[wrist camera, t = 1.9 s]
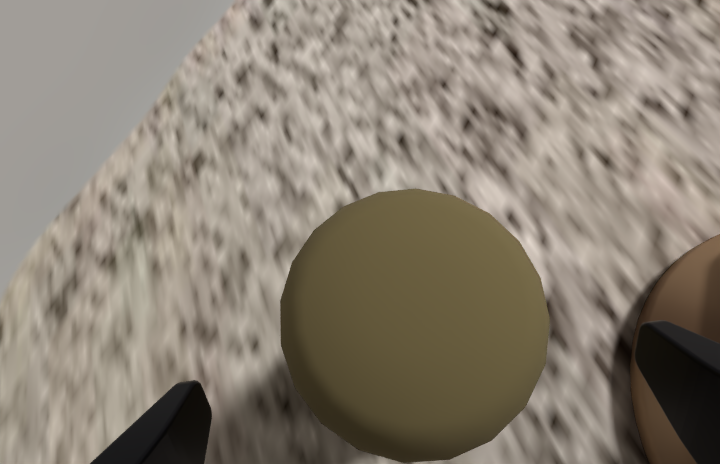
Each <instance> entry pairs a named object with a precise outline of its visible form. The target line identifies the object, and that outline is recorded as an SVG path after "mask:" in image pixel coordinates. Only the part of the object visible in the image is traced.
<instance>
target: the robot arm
mask: <svg viewBox="0 0 720 464" xmlns="http://www.w3.org/2000/svg"><path fill="white" fill-rule="evenodd" d="M635 361H636V364H637V366H638V368H639V370H640V372H641V373H642V375H643V377H644V379H645V380H646V382H647V384H648V386H649V387H650V389H651V391H652V393H653V394H654V396H655V398H656V400H657V401H658V403H659V405H660V406H661V408H662V410H663V412H664V413H665V415H666V417H667V419H668V420H669V422H670V424H671V426H672V427H673V429H674V430H675V432H676V434H677V435H678V437H679V439H680V440H681V442H682V443H683V444H684V446H685V447H686V449H687V450H688V452H689V453H690V455H691V456H692V457H693V459H694V460H695V462H696V463H697V464H720V343H718V342H715V341H713V340H711V339H708V338H706V337H704V336H701V335H699V334H697V333H694V332H692V331H690V330H687V329H685V328H683V327H680V326H678V325H676V324H673V323H671V322H668V321H665V320H658V321H650V322H644V323H642V324H641V326H640V328H639V332H638V337H637V343H636V348H635ZM211 419H212V412H211V407H210V405H209V402H208V400H207V398H206V395H205V393H204V390H203V388H202V386H201V384H200V383H199V382H198V381H195V380H193V381H186V382H180V383H177V384H176V385H174V386H173V387H172V388H171V389H170V390H169V391H168V392H167V393H166V394H165V395H164V396H163V397H161V398H160V399H159V400H158V401H157V402H156V403H155V404H154V405H153V406H152V407H151V408H150V409H148V410H147V411H146V412H145V413H144V414H143V415H142V416H141V417H140V418H139V419H138V420H137V421H136V422H134V423H133V424H132V425H131V426H130V427H129V428H128V429H127V430H126V431H125V432H124V433H123V434H121V435H120V436H119V437H118V438H117V439H116V440H115V441H114V442H113V443H112V444H111V445H110V446H109V447H107V448H106V449H105V450H104V451H103V452H102V453H101V454H100V455H99V456H98V457H97V458H96V459H94V460H93V461H92V462H91V463H90V464H204V461H205V455H206V449H207V443H208V437H209V431H210V425H211Z"/></svg>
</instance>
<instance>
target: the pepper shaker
mask: <svg viewBox="0 0 720 464" xmlns="http://www.w3.org/2000/svg"><path fill="white" fill-rule="evenodd" d="M280 303H281V347H282V350H283V353H284V356H285V359H286V362H287V365H288V368H289V371H290V374H291V377H292V380H293V383H294V386H295V388H296V390H297V391H298V392H299V394H300V395H301V396H302V398H303V399H304V401H305V402H306V403H307V405H308V406H309V407H310V409H311V410H312V411H313V413H314V414H315V416H316V417H317V418H318V420H319V421H320V422H321V424H323V425H324V426H326V427H327V428H328V429H330V430H331V431H333V432H334V433H336V434H337V435H338V436H340V437H341V438H343V439H344V440H345V441H347V442H348V443H350V444H351V445H352V446H354V447H355V448H357V449H358V450H361V451H364V452H368V453H371V454H375V455H378V456H382V457H385V458H389V459H392V460H396V461H399V462H403V463H406V462H421V461H436V460H450V459H452V458H454V457H456V456H459V455H461V454H463V453H465V452H467V451H470V450H472V449H474V448H476V447H478V446H481V445H483V444H485V443H487V442H490V441H492V440H493V439H494V438H495V437H496V436H497V435H498V434H499V433H500V432H501V431H502V430H503V429H504V428H505V427H506V426H507V425H508V424H509V423H510V422H511V421H512V420H513V419H514V418H515V417H516V416H517V415H518V414H519V413H520V412H521V411H522V410H523V409H524V408H525V406H526V405H527V403H528V400H529V398H530V396H531V394H532V392H533V390H534V388H535V385H536V383H537V381H538V379H539V377H540V375H541V373H542V371H543V368H544V366H545V364H546V354H547V344H548V334H549V324H550V318H549V314H548V309H547V305H546V300H545V296H544V291H543V287H542V283H541V278H540V276H539V274H538V273H537V271H536V269H535V268H534V266H533V264H532V262H531V261H530V259H529V257H528V256H527V254H526V252H525V250H524V249H523V247H522V245H521V243H520V242H519V241H518V240H517V239H516V238H515V237H514V236H513V235H512V234H511V233H510V232H509V231H508V230H507V229H505V228H504V227H503V226H502V225H501V224H500V223H499V222H498V221H497V220H496V219H495V218H494V217H493V216H492V215H491V214H489V213H487V212H485V211H483V210H481V209H479V208H477V207H475V206H474V205H472V204H470V203H468V202H466V201H464V200H462V199H460V198H458V197H456V196H453V195H448V194H442V193H437V192H431V191H426V190H421V189H408V190H398V191H388V192H378V193H376V194H373V195H371V196H368V197H366V198H363V199H361V200H359V201H356V202H354V203H351V204H349V205H346V206H344V207H342V208H341V209H340V210H339V211H337V212H336V213H335V214H334V215H332V216H331V217H330V218H329V219H327V220H326V221H325V222H324V223H323V224H321V225H320V226H319V227H318V228H316V229H315V230H314V231H313V233H312V234H311V235H310V237H309V238H308V240H307V241H306V243H305V244H304V246H303V247H302V249H301V250H300V252H299V253H298V255H297V256H296V258H295V259H294V260H293V262H292V265H291V268H290V271H289V274H288V278H287V281H286V284H285V288H284V291H283V294H282V297H281V301H280Z"/></svg>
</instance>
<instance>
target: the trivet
mask: <svg viewBox="0 0 720 464" xmlns="http://www.w3.org/2000/svg"><path fill="white" fill-rule="evenodd" d="M658 320H665V321H668V322H671V323H673V324H676V325H678V326H680V327H683V328H685V329H687V330H690V331H692V332H694V333H697V334H699V335H701V336H704V337H706V338H708V339H711V340H713V341H715V342H718V343H720V234H719V235H717V236H715V237H713V238H710V239H708V240H707V241H705V242H703V243H701V244H700V245H698V246H696V247H694V248H693V249H691V250H689V251H688V252H687V253H686V254H684V255H683V256H682V257H681V258H679V259H678V260H677V261H676V262H674V263H673V264H672V265H671V267H670V268H669V269H668V270H667V271H666V272H665V273H664V274H663V275H662V277H661V278H660V279H659V280H658V282H657V283H656V285H655V286H654V288H653V290H652V291H651V293H650V294H649V296H648V297H647V300H646V302H645V304H644V307H643V309H642V311H641V314H640V316H639V318H638V322H637V326H636V330H635V334H634V338H633V343H632V352H631V362H630V378H631V396H632V402H633V408H634V414H635V420H636V424H637V427H638V431H639V434H640V438H641V441H642V445H643V448H644V451H645V453H646V456H647V458H648V461H649V463H650V464H697V463H696V462H695V460H694V459H693V457H692V456H691V455H690V453H689V452H688V450H687V449H686V447H685V446H684V444H683V443H682V442H681V440H680V439H679V437H678V435H677V434H676V432H675V430H674V429H673V427H672V426H671V424H670V422H669V420H668V419H667V417H666V415H665V413H664V412H663V410H662V408H661V406H660V405H659V403H658V401H657V400H656V398H655V396H654V394H653V393H652V391H651V389H650V387H649V386H648V384H647V382H646V380H645V379H644V377H643V375H642V373H641V372H640V370H639V368H638V366H637V364H636V361H635V348H636V343H637V337H638V332H639V328H640V326H641V324H642V323H644V322H650V321H658Z"/></svg>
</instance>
